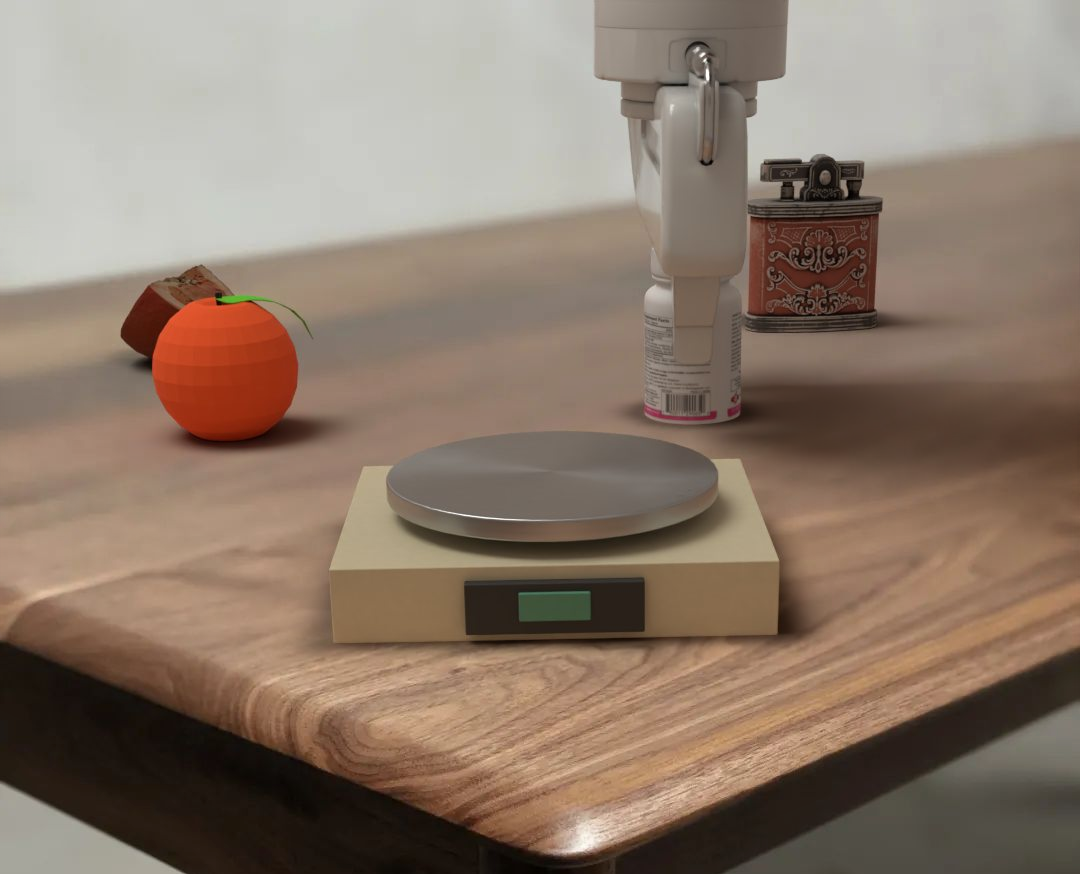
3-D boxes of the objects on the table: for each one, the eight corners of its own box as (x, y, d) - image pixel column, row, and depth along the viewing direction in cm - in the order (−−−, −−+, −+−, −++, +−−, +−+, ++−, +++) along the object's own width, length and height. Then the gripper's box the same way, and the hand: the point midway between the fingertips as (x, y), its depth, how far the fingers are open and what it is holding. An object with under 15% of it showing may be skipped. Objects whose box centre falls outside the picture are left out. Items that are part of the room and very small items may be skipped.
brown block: (162, 343, 112) (153, 259, 110) (267, 346, 110) (260, 261, 108) (103, 373, 104) (93, 284, 102) (216, 376, 103) (207, 286, 101)
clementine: (293, 414, 94) (283, 273, 91) (346, 443, 88) (336, 293, 86) (141, 435, 91) (125, 289, 88) (185, 467, 85) (170, 311, 82)
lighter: (869, 318, 114) (877, 150, 110) (882, 329, 111) (891, 156, 107) (740, 322, 114) (744, 154, 110) (749, 333, 111) (753, 160, 107)
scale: (738, 530, 74) (740, 458, 73) (779, 650, 62) (781, 565, 61) (367, 538, 74) (362, 465, 73) (332, 659, 62) (326, 574, 61)
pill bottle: (696, 404, 94) (699, 235, 91) (760, 421, 91) (764, 246, 87) (624, 419, 92) (623, 246, 88) (686, 437, 88) (688, 258, 85)
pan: (704, 447, 72) (704, 427, 72) (733, 539, 61) (734, 516, 61) (398, 453, 72) (397, 433, 72) (373, 546, 61) (372, 523, 61)
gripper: (789, 51, 75) (774, 389, 80) (735, 26, 93) (727, 301, 99) (633, 52, 75) (629, 390, 80) (611, 28, 93) (609, 303, 99)
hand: (683, 340), depth 90 cm, fingers open, 8 cm apart
